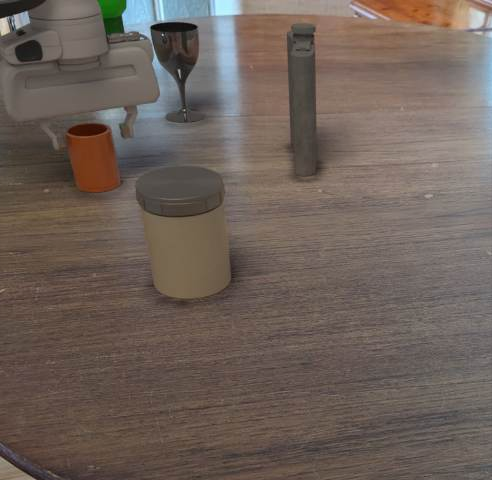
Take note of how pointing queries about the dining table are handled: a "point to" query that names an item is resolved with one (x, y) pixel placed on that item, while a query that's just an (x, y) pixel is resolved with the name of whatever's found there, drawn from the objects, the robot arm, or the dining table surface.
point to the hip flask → (302, 97)
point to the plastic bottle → (113, 15)
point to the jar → (188, 253)
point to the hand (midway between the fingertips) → (94, 142)
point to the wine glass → (178, 60)
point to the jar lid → (180, 190)
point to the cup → (92, 157)
